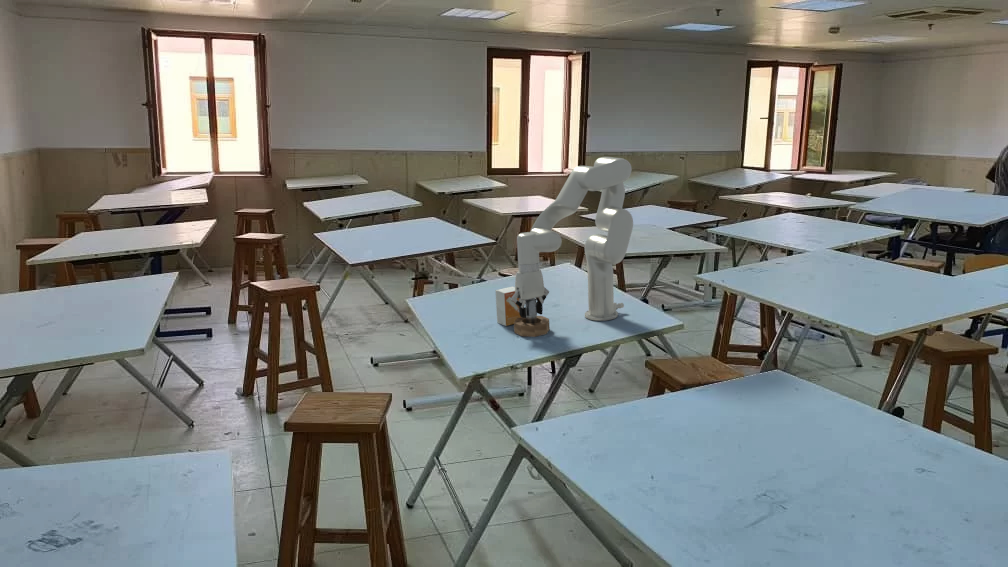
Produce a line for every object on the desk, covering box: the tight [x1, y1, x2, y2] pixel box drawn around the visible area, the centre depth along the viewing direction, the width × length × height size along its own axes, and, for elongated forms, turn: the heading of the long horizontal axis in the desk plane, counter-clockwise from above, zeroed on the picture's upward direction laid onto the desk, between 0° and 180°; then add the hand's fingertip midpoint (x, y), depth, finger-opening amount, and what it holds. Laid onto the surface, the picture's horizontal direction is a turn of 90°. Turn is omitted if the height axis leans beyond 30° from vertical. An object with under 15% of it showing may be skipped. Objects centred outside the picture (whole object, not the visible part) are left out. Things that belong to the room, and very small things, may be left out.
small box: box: [495, 286, 520, 327], centre depth 267 cm, size 8×6×13 cm
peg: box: [524, 298, 538, 324], centre depth 255 cm, size 4×4×12 cm
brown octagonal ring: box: [513, 315, 550, 338], centre depth 256 cm, size 12×12×4 cm
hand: (531, 315), depth 255 cm, fingers open, 6 cm apart
